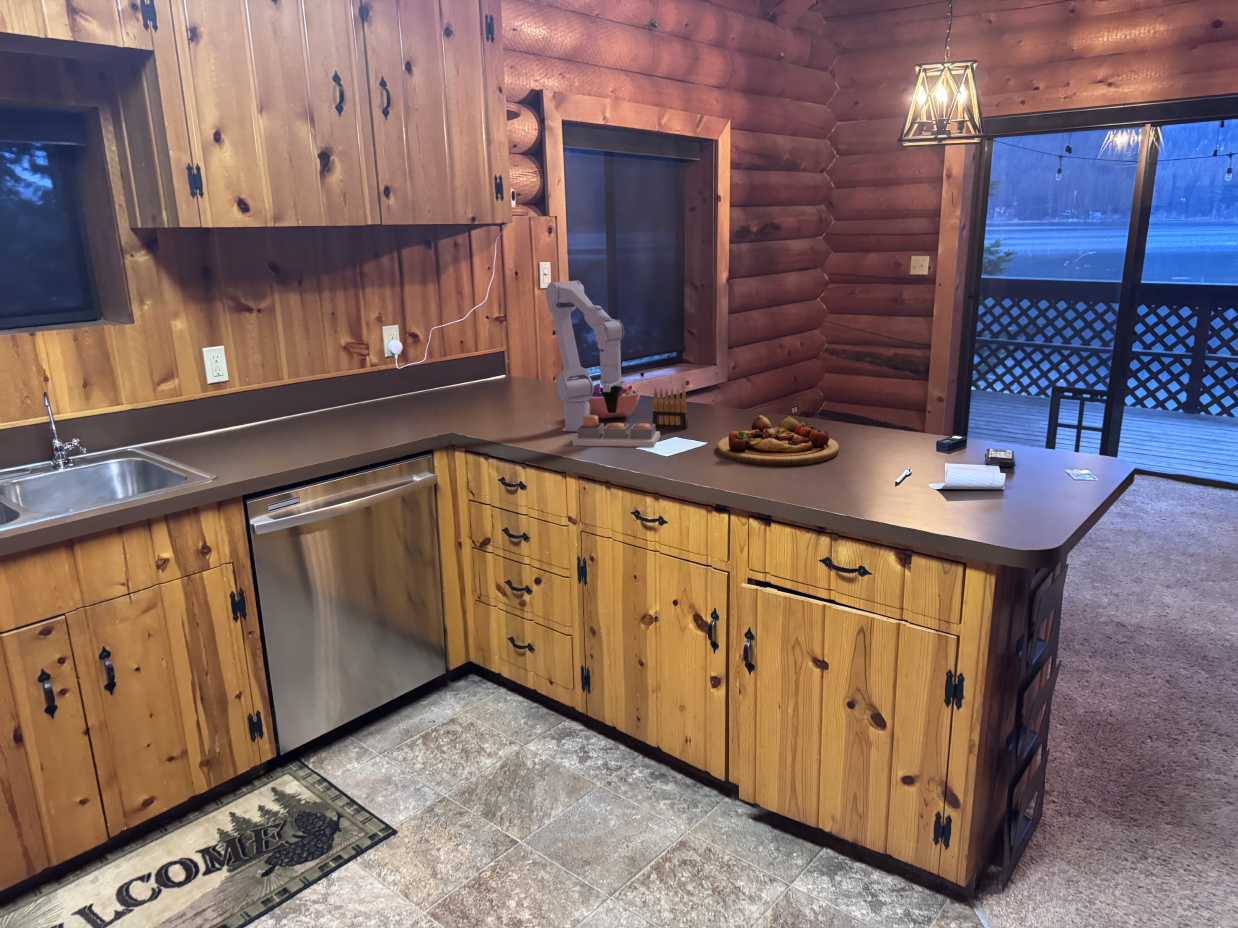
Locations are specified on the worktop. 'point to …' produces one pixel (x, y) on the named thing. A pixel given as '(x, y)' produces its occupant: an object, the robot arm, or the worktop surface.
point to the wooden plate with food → (778, 444)
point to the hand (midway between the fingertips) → (612, 412)
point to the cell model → (624, 406)
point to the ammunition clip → (670, 410)
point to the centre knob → (616, 425)
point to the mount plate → (616, 436)
